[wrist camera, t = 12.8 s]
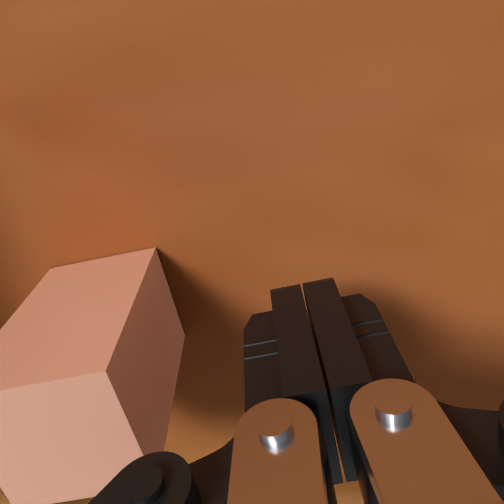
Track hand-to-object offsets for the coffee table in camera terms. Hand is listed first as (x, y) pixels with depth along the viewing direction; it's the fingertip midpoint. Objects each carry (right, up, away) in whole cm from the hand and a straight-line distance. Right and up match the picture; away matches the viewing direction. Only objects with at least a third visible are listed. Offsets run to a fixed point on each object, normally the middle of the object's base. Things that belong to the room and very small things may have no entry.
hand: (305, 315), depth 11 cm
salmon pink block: (-5, 0, +2) cm, 6 cm away
